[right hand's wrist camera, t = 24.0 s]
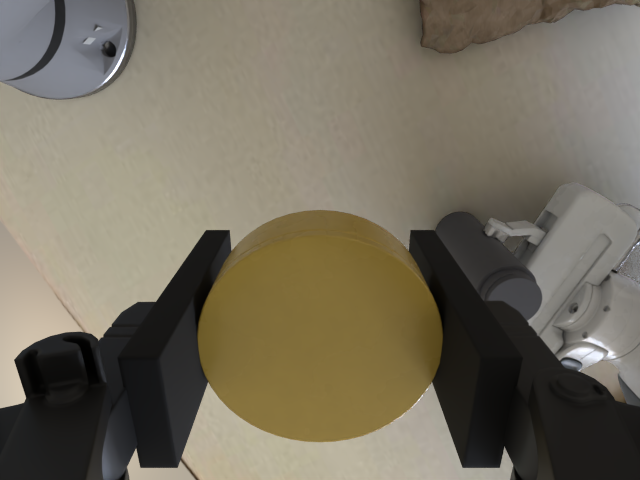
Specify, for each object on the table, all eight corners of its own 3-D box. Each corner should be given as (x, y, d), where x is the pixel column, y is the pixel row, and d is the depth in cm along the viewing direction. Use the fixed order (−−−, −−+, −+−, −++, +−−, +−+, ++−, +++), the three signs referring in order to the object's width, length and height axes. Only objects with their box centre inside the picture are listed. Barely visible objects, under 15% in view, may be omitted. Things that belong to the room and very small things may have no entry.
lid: (285, 421, 13) (280, 472, 12) (170, 275, 12) (145, 310, 10) (459, 342, 12) (481, 386, 11) (364, 167, 10) (373, 186, 9)
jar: (437, 211, 46) (488, 272, 33) (483, 212, 46) (553, 274, 33) (432, 253, 48) (477, 328, 34) (476, 254, 48) (539, 330, 34)
